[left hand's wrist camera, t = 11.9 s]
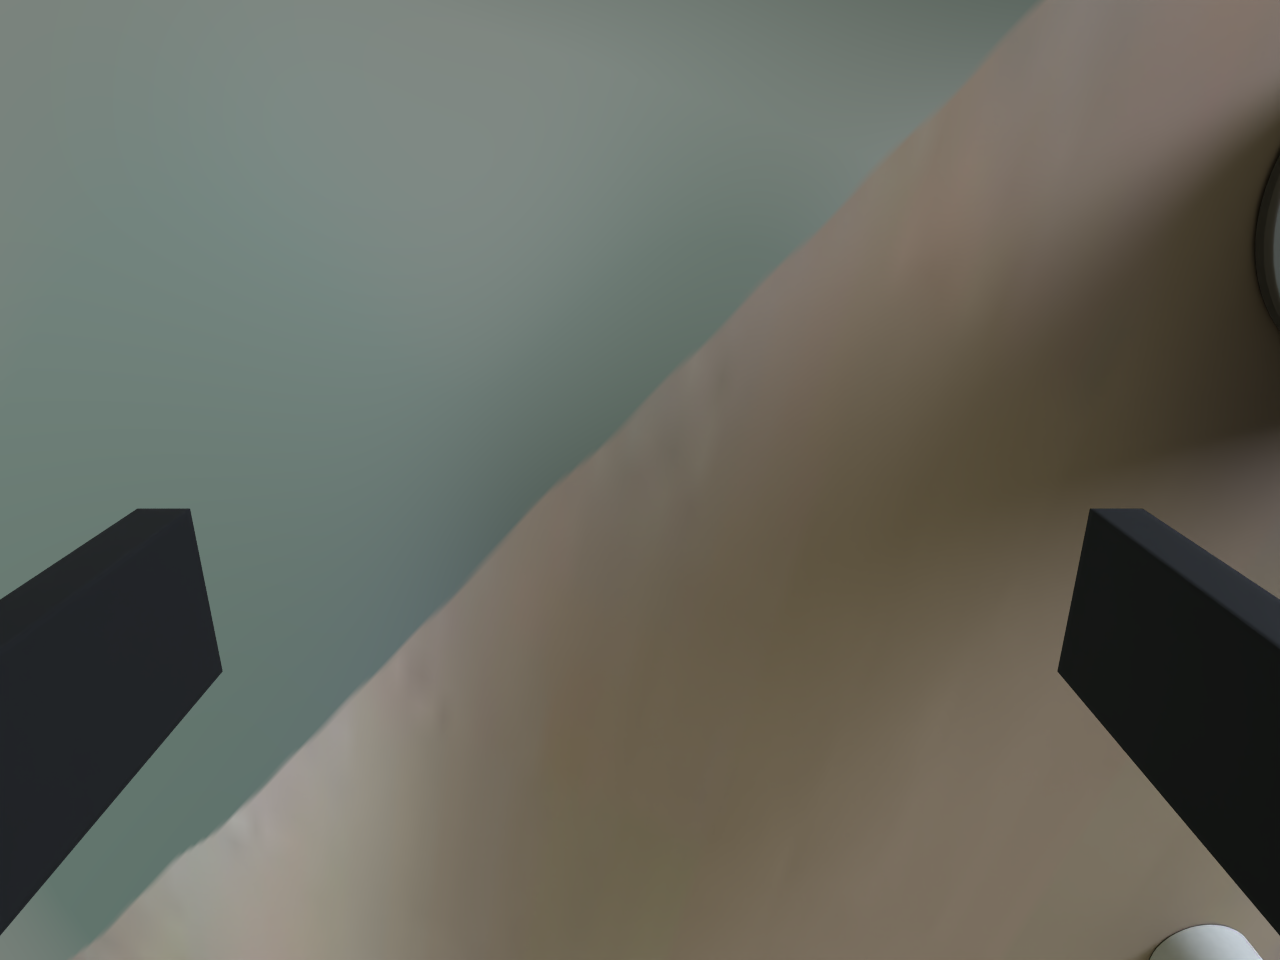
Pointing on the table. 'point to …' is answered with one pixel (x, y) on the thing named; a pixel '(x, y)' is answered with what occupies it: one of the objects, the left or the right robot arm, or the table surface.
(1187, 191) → the table surface
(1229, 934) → the canister
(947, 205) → the table surface
